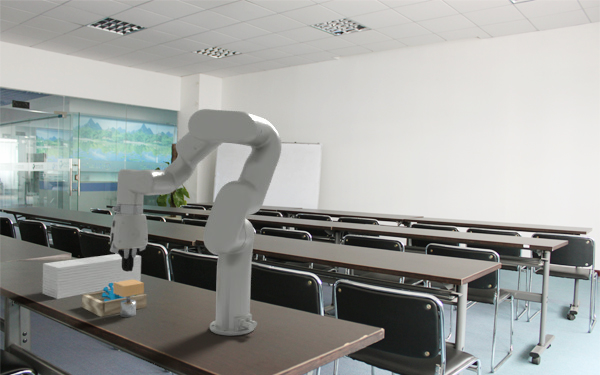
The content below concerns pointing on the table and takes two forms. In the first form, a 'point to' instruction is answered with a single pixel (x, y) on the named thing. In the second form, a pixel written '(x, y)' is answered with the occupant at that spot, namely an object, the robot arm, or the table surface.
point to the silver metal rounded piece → (128, 307)
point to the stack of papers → (86, 275)
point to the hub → (128, 288)
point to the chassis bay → (108, 303)
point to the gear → (111, 293)
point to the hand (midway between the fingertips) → (127, 270)
